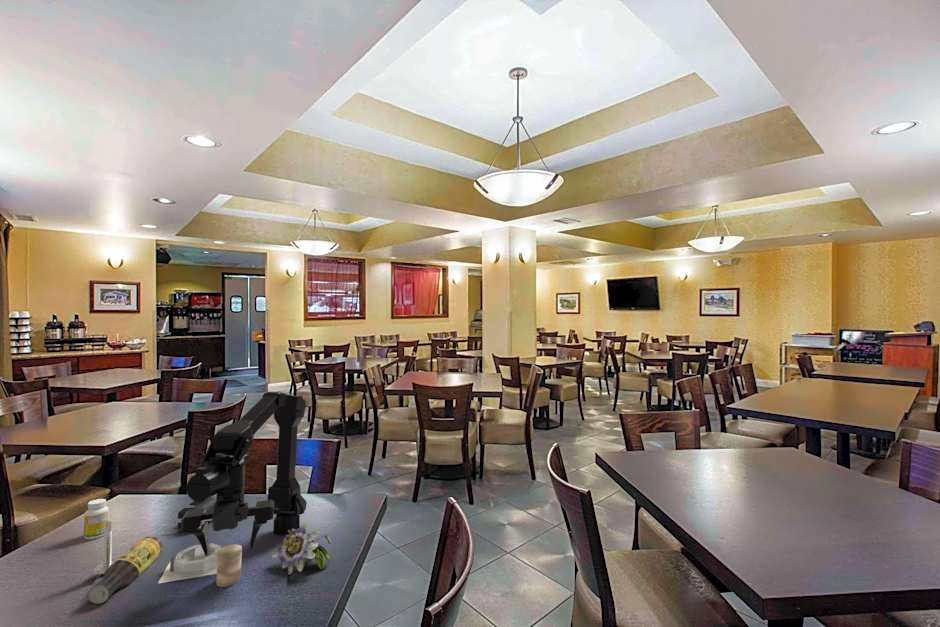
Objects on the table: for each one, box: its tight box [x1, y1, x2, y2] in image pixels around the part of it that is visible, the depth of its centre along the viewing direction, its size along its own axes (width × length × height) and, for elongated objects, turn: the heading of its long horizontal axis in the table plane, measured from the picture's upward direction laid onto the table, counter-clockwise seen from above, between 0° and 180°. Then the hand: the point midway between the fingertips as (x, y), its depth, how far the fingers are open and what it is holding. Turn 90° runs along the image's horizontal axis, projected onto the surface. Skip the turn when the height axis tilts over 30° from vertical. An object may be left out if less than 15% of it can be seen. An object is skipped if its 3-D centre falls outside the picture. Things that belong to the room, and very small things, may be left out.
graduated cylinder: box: [93, 520, 116, 577], centre depth 106 cm, size 13×5×5 cm
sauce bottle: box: [87, 536, 164, 605], centre depth 104 cm, size 7×6×20 cm
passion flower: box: [271, 522, 331, 576], centre depth 111 cm, size 11×11×12 cm
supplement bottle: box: [83, 498, 110, 540], centre depth 126 cm, size 5×5×10 cm
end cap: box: [177, 496, 216, 534], centre depth 132 cm, size 10×7×7 cm
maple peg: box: [215, 543, 243, 588], centre depth 103 cm, size 5×5×8 cm
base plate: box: [157, 558, 217, 585], centre depth 109 cm, size 14×11×1 cm
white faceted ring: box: [169, 542, 223, 577], centre depth 109 cm, size 10×10×3 cm
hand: (229, 551), depth 103 cm, fingers open, 9 cm apart
